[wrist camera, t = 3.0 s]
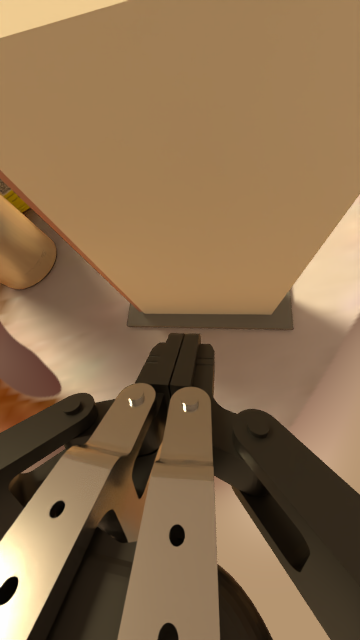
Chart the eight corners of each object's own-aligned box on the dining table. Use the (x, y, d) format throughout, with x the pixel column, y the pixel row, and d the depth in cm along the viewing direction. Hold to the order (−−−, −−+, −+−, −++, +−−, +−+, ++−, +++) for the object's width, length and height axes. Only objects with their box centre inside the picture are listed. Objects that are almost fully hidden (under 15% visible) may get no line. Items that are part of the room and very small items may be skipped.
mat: (292, 329, 21) (293, 328, 21) (128, 326, 25) (126, 325, 24) (274, 145, 29) (275, 141, 29) (152, 161, 33) (151, 159, 32)
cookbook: (271, 314, 22) (603, -140, 3) (140, 313, 24) (-116, 71, 6) (269, 288, 23) (516, -186, 4) (143, 290, 25) (-70, 15, 7)
